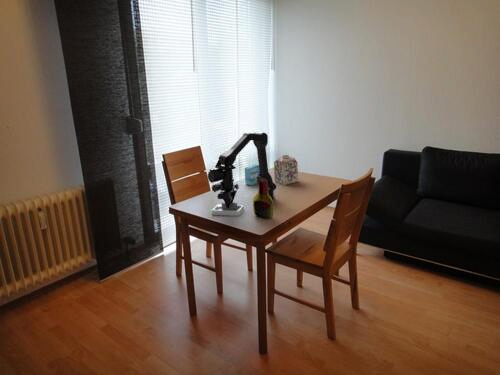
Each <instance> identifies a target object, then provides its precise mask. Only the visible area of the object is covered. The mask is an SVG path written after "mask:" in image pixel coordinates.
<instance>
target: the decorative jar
mask: <svg viewBox="0 0 500 375" xmlns="http://www.w3.org/2000/svg"><path fill="white" fill-rule="evenodd" d="M298 166H299V165H298V161H297V159H296V158H295V157H292V156H290V155H289V154H283V155H281V157H278V158H276V159H275V161H274V162H273V174H274V175H273V176H274V177H273V178H274V182H276V183H278V184H280V185H283V186H286V185H290V184H294V183H297V182H298V180H299V172H298V171H299V168H298Z"/></svg>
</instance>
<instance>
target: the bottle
mask: <svg viewBox="0 0 500 375" xmlns="http://www.w3.org/2000/svg"><path fill="white" fill-rule="evenodd" d="M252 207H253V208H252V209H253V214H254V216H256V217H258V218H259V217H260V218H263V219H271V218H273V217H274V210H275V209H274V207H275V204H274V199H273V200H272V198H271V197H270V196H269V194H268V180H266V179H261V180H260V181H259V185H258V192H257V193H256V194H255V195H254V196H253V198H252Z"/></svg>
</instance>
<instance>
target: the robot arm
mask: <svg viewBox="0 0 500 375" xmlns="http://www.w3.org/2000/svg"><path fill="white" fill-rule="evenodd" d="M251 141H252V142H253V145H254V147H255V149H256V153H257V161H258V165H259V170H260V173H259V176H257V185H258V186H259V181H260V180H261V179H266V180H268V194H269V196H270V197H271V198H272V200H273V201H274V199H275V197H276V196H275V191H276V190H277V184H276V183H274V182H273V181H274V180H273V178H272V176H271V174H270V172H269V165H268V157H267V145H268V143H269V137H268V133H267V132H263V131H254V132H246V131H245V132H243V134H242V136H241V137H239V139H238V140H237V141H236V142H235V143H234V144H233V145H232V146H231V148H229V149H228V150H226V151H224V152H223V153H222V154H220V155H219V157H218V160H217V162H216V164H215V166H214V167H215V168H210V169H209V172H208V173H207V178H208V181H209V182H210V183H211V184H213V183H215V182H217V183H215V184H213V185H211V191H212V192H214V193H217V192H219V191H220V192H219V193H217V196H216V197H217V199H218V200H223V203H224V202H225V204H226V207H227V208H229V207H230V203H234V200H235V198H236V195H237V192H238V190H239V188H240V187H239V184H238V183H235V178H234V174H233V170H234V169H236V168H237V167H236V166H234V165H233V164H234V163H235V161H236V160H237V156H238V155H239V154H240V153H241V151H242V150H244V149H245V147H246V146H247V145H248V144H249V143H250V142H251Z"/></svg>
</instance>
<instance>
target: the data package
mask: <svg viewBox="0 0 500 375" xmlns="http://www.w3.org/2000/svg"><path fill="white" fill-rule="evenodd" d="M259 173H260V170H259V163H258V164H257V163H256V164H255V163H254V164H252V165H247V166H245V167H244V178H245V179H244V180H245V184H246V185H249V186H253V185H258V183H257V176H259Z"/></svg>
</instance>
